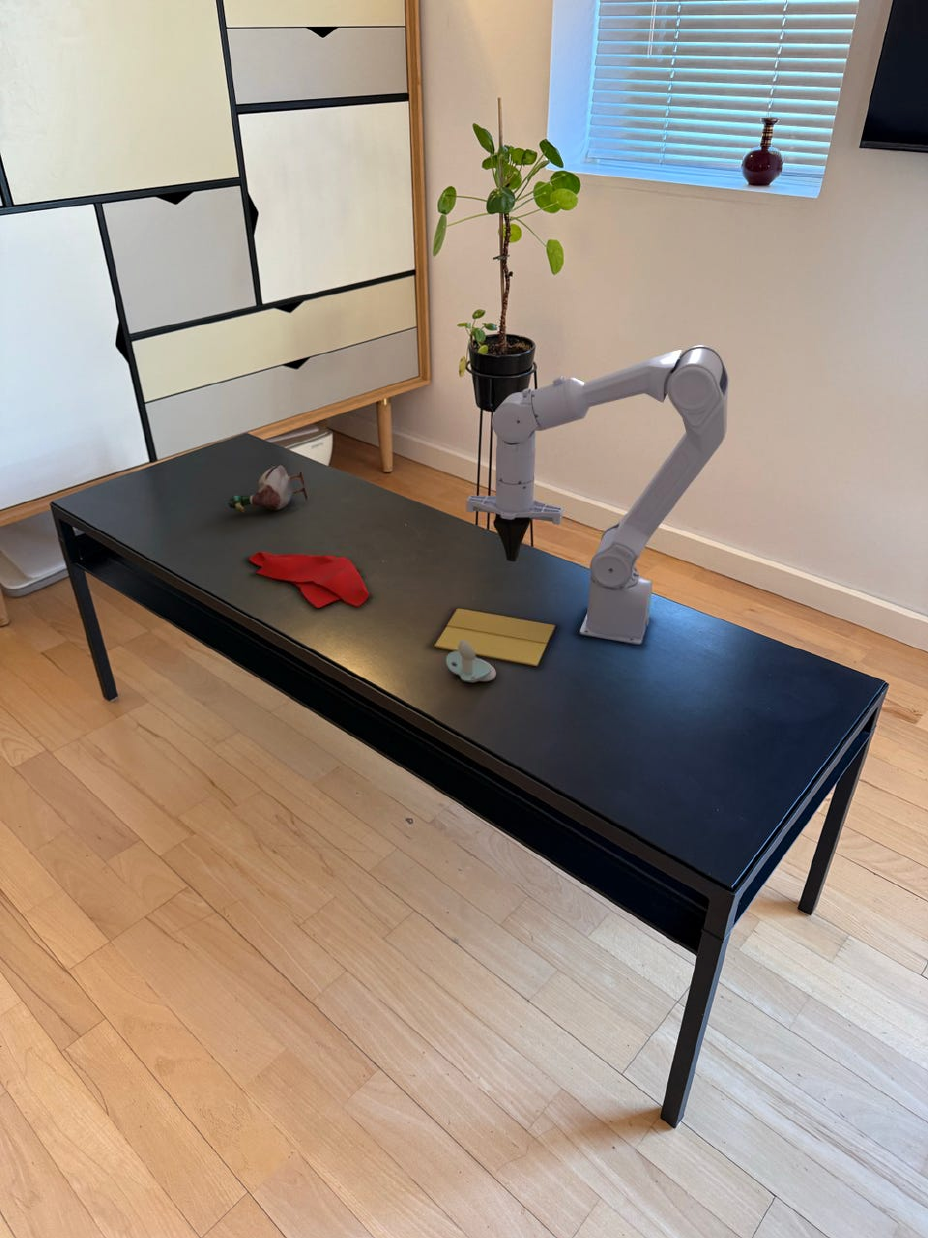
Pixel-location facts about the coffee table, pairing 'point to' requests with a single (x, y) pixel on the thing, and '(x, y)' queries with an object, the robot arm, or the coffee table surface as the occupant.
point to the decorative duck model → (270, 491)
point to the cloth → (316, 576)
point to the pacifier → (469, 664)
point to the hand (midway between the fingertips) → (512, 558)
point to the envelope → (497, 636)
